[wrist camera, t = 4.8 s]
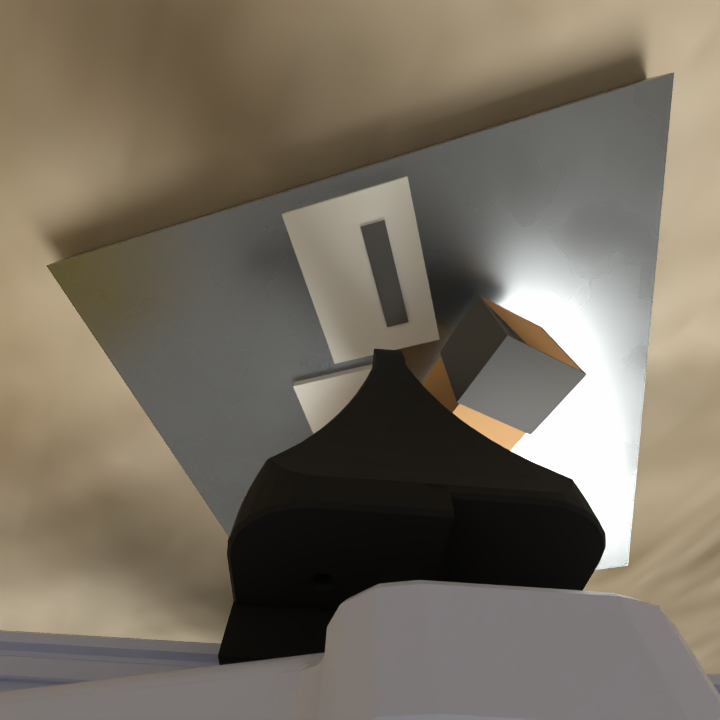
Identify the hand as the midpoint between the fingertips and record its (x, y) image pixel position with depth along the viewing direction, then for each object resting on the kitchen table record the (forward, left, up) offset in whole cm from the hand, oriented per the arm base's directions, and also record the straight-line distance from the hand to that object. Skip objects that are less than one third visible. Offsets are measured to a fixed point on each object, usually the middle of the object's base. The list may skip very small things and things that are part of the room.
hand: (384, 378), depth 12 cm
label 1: (+3, 0, -3) cm, 4 cm away
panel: (-4, 0, -3) cm, 5 cm away
